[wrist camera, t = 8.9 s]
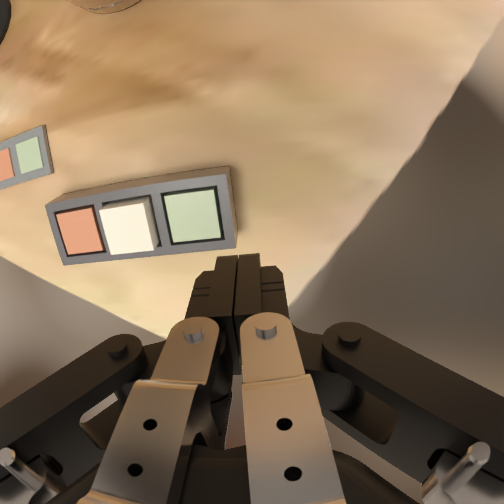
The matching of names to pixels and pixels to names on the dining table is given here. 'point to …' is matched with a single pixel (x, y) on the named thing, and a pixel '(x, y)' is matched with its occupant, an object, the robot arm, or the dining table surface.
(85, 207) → the key terracotta
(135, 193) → the keypad
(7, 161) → the tile
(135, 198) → the key cream
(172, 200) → the key sage
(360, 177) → the dining table surface
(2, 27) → the mug
